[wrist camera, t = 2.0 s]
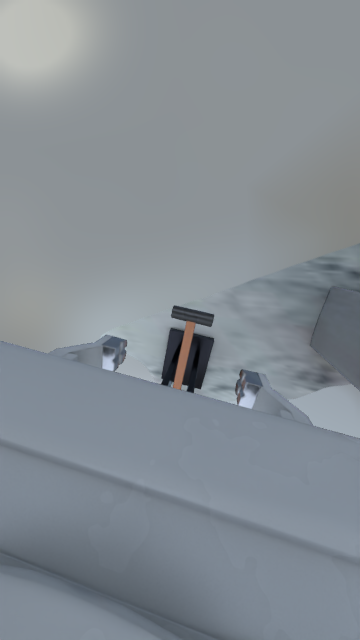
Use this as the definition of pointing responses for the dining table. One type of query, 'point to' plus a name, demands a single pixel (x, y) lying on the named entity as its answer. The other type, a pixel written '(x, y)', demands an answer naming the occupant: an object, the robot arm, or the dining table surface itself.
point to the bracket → (195, 360)
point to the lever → (188, 336)
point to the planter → (340, 333)
